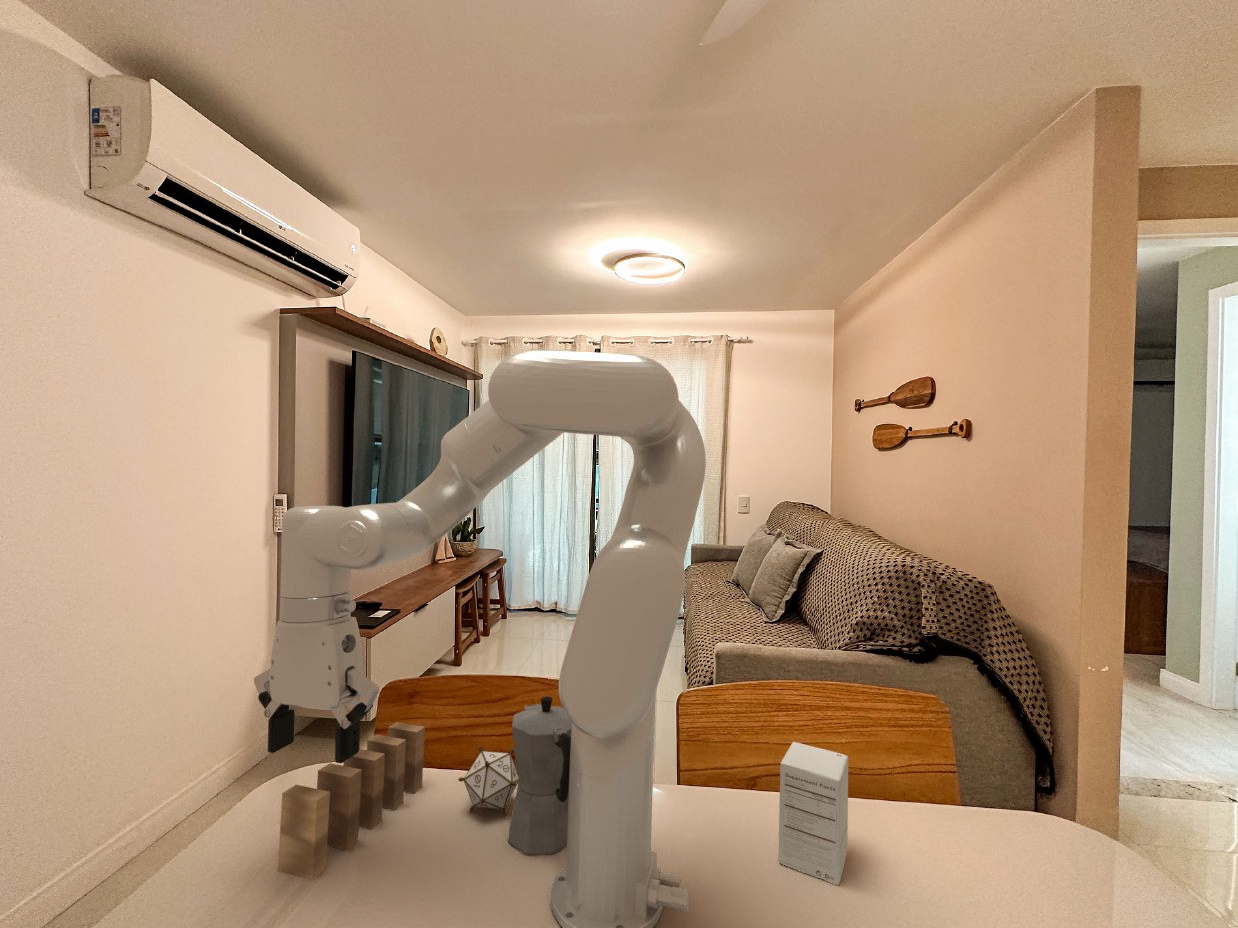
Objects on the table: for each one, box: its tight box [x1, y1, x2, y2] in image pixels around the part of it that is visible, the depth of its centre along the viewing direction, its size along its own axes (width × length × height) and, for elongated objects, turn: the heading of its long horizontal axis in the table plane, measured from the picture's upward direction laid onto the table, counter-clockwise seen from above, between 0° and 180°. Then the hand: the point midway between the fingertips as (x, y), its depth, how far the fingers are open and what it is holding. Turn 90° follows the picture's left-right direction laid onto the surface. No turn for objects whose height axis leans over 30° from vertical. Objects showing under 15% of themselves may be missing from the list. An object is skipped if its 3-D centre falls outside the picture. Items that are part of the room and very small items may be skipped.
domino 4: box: [366, 734, 406, 811], centre depth 80 cm, size 5×2×9 cm, turn 74°
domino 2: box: [316, 763, 362, 851], centre depth 71 cm, size 5×2×9 cm, turn 75°
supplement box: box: [778, 741, 849, 886], centre depth 71 cm, size 7×7×13 cm
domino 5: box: [387, 721, 426, 795], centre depth 84 cm, size 5×2×9 cm, turn 74°
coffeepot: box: [507, 696, 572, 856], centre depth 73 cm, size 15×9×18 cm, turn 29°
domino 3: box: [342, 748, 385, 830], centre depth 75 cm, size 5×2×9 cm, turn 74°
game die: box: [457, 744, 519, 816], centre depth 80 cm, size 9×8×10 cm
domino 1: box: [277, 784, 330, 881], centre depth 66 cm, size 5×2×9 cm, turn 75°
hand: (313, 752), depth 66 cm, fingers open, 9 cm apart
